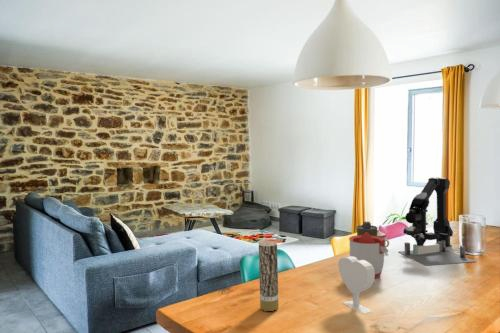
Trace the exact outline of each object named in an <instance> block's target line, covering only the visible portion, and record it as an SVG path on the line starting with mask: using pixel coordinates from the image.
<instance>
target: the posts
mask: <svg viewBox="0 0 500 333" xmlns="http://www.w3.org/2000/svg"><path fill="white" fill-rule="evenodd" d="M441 242H442V252H445V249H446V247H445V240H441ZM404 251H405V254H406V255H410V251H411V243H410V242H407V241H406V242H404ZM459 255H460V257H461V258H465V257H466V246H465V245H460V246H459Z"/></svg>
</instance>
